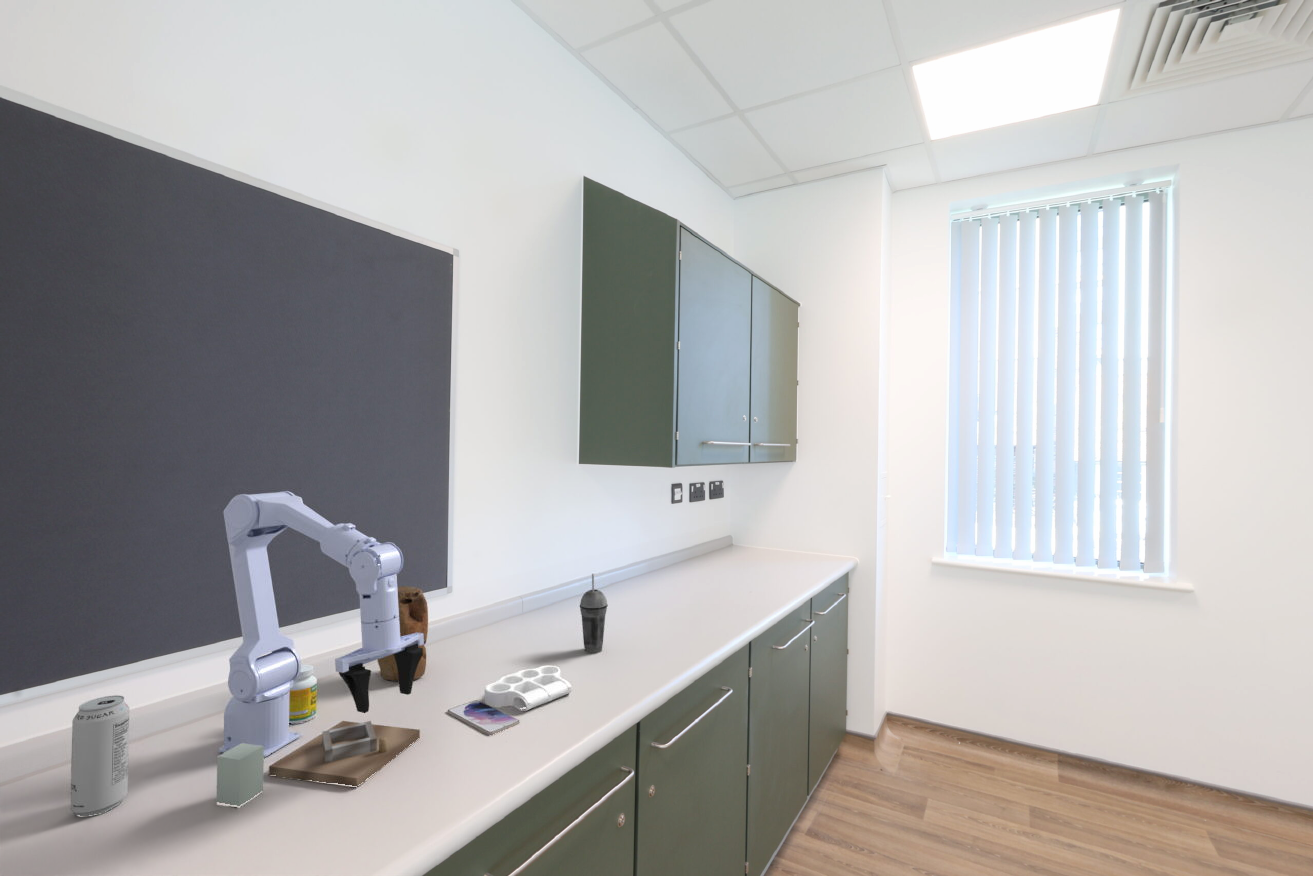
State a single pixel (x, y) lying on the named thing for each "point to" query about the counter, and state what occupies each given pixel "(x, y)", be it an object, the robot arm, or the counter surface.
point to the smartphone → (483, 717)
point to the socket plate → (344, 767)
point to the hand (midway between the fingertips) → (385, 702)
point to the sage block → (240, 774)
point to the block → (408, 629)
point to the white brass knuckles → (527, 688)
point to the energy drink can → (99, 755)
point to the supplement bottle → (303, 696)
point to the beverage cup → (593, 619)
